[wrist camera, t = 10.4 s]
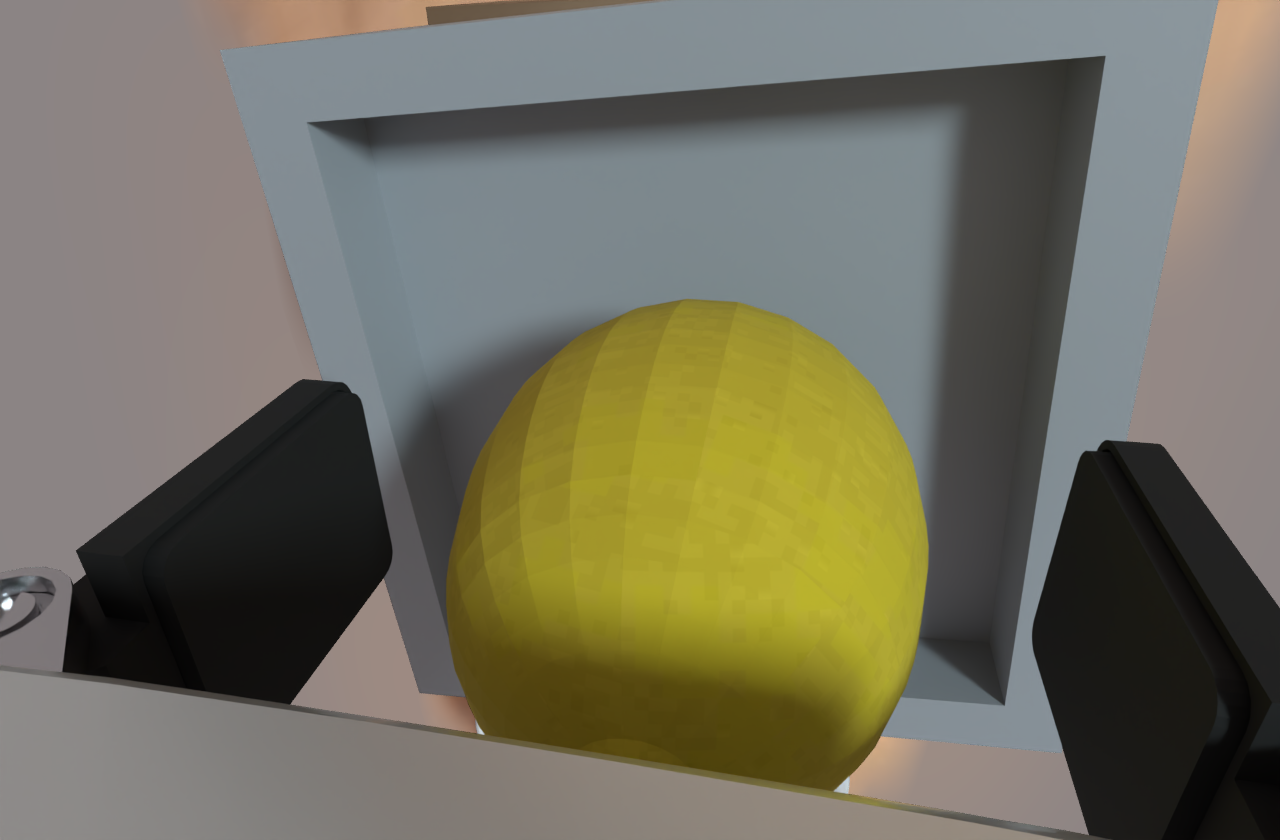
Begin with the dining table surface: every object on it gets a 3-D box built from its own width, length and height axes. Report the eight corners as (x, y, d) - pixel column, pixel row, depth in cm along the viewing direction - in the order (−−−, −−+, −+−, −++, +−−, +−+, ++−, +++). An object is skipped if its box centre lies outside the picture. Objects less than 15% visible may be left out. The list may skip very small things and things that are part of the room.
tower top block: (404, 28, 16) (219, 50, 11) (1084, -48, 13) (1231, -61, 8) (511, 533, 21) (419, 693, 16) (1001, 554, 18) (1061, 753, 14)
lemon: (563, 499, 15) (352, 936, 8) (566, 207, 12) (254, 500, 6) (861, 548, 14) (898, 1072, 8) (935, 248, 12) (1097, 645, 5)
